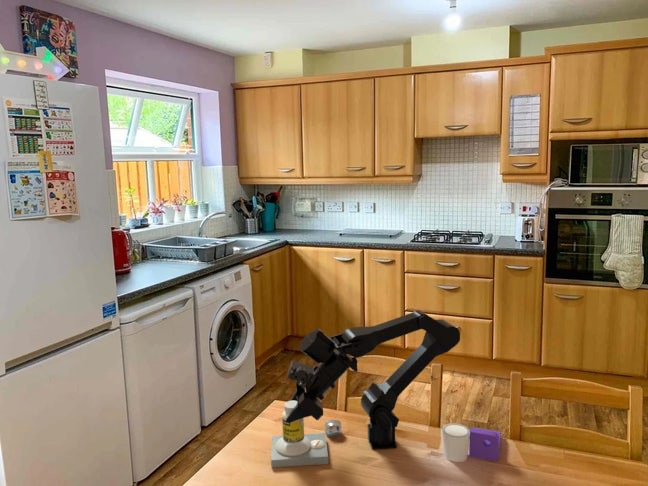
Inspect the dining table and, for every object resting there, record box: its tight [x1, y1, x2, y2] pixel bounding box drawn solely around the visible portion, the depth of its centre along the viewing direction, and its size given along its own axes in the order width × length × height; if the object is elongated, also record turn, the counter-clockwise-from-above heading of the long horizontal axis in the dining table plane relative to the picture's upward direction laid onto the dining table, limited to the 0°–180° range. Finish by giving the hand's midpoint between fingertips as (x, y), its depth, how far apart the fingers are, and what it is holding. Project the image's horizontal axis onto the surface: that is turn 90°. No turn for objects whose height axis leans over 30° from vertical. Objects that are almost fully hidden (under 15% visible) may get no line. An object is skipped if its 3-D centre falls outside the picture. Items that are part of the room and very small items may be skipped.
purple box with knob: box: [468, 427, 502, 462], centre depth 137 cm, size 12×7×7 cm, turn 159°
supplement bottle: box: [281, 400, 305, 445], centre depth 134 cm, size 5×5×10 cm
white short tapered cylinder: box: [441, 422, 470, 463], centre depth 133 cm, size 7×7×7 cm
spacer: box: [324, 418, 342, 439], centre depth 145 cm, size 4×4×3 cm
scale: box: [270, 432, 329, 469], centre depth 136 cm, size 14×11×3 cm
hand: (287, 415), depth 134 cm, fingers closed on supplement bottle, 5 cm apart
